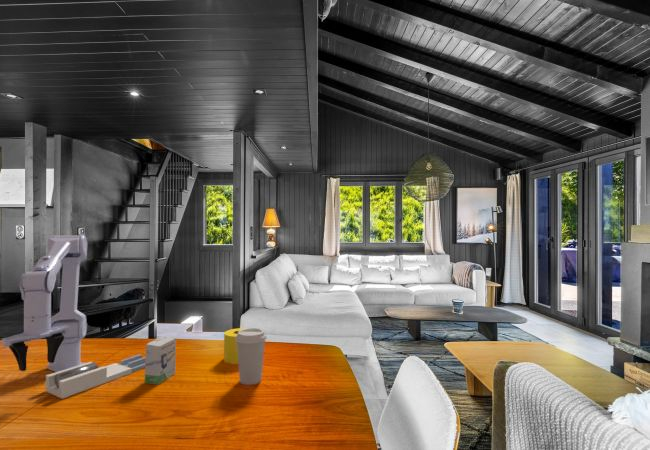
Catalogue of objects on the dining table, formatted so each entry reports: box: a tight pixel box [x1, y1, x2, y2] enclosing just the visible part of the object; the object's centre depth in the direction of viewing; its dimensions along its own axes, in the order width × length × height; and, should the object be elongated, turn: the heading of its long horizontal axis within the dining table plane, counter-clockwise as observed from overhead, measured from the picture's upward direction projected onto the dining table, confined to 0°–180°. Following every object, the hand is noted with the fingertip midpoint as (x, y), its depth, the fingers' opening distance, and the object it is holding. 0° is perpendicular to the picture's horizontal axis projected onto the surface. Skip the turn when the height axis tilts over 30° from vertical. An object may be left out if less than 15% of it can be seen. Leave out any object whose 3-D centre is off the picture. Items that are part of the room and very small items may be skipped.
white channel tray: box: [45, 361, 133, 400], centre depth 110 cm, size 9×20×4 cm, turn 151°
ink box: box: [144, 336, 177, 385], centre depth 113 cm, size 9×5×12 cm, turn 168°
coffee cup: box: [235, 327, 267, 386], centre depth 112 cm, size 10×10×15 cm
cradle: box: [119, 353, 146, 373], centre depth 122 cm, size 8×7×2 cm
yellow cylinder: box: [223, 327, 246, 365], centre depth 130 cm, size 10×10×9 cm
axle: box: [54, 362, 99, 388], centre depth 107 cm, size 10×4×4 cm, turn 151°
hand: (37, 366), depth 98 cm, fingers open, 6 cm apart
